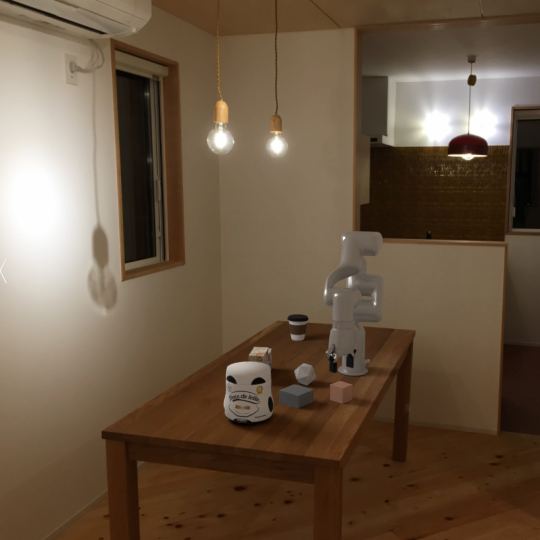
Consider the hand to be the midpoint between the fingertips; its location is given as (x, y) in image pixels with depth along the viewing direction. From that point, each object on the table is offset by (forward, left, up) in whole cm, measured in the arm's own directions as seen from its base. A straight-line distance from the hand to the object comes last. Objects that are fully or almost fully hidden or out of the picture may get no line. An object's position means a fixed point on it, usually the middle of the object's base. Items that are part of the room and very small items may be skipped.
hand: (341, 369), depth 235 cm
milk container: (+36, -11, -12) cm, 40 cm away
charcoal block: (+13, -10, -12) cm, 21 cm away
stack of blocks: (+2, -42, -12) cm, 43 cm away
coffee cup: (-53, -71, -12) cm, 89 cm away
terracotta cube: (-1, 0, -12) cm, 12 cm away
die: (-5, -22, -12) cm, 26 cm away
